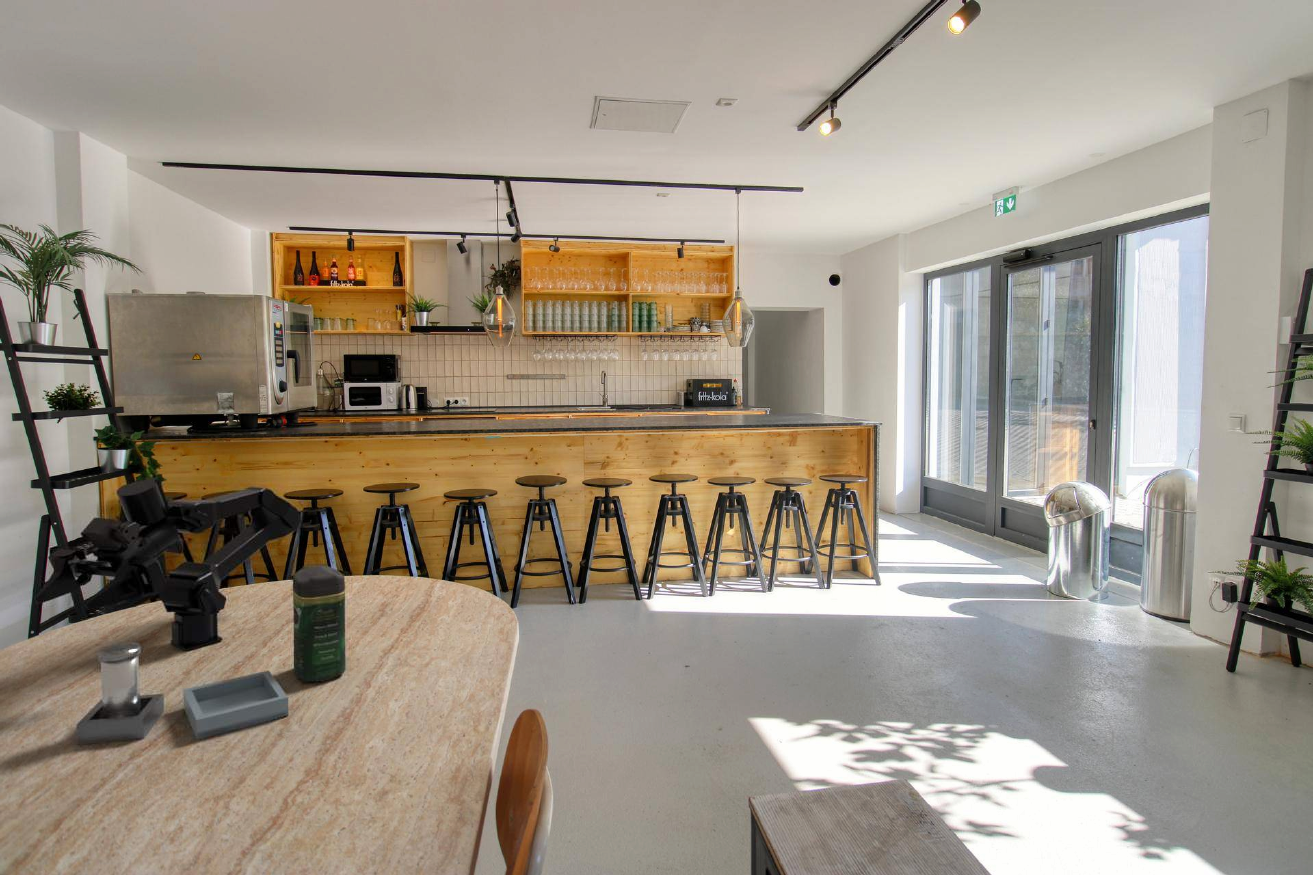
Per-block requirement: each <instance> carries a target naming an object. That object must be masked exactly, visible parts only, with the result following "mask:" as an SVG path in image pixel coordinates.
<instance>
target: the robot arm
mask: <svg viewBox="0 0 1313 875" xmlns="http://www.w3.org/2000/svg"><path fill="white" fill-rule="evenodd" d="M164 492H165V491H164V489H163V485H162V481H161V479H160V478H159V477H148V478H147V479H145V480H139V481H135V482H132V483H128V484H127V483H126V484H124V485H122V486H120V487H119V488H118V489H117V490H116V495H117V497H118V500H119V502H120V505H121V507H122V509H123V512H124V514H125V518H126V520H127V521H124V522H122V520H116V519H112V518H104V517H93V519H92V520H91V521H90V522H89V523H88V524H87V525H86V527H85V528H84V529H83V530H82V531H81V532H80V536H81V537H82V538H83V539H86V540H87V541H88V542H90V543H91V544H92V545H93V546H94V547H95V548H93V549H91V553H92V554H93V556H94V557H96V559H88V558H87V556H86V554H85V551H81V550H77V549H76V550H75V549H68V548H67V549H66V548H65V549H64V548H59V549H57V550H56V551H54V552H52V553H51V554H50V555H49V556H48V557H47V558H48V560H49V562H50V564H51V567H52V569H53V571H52V573H51V575H50V577H49V578H48V580H47V581H46V582H45V584H44V586H42V588H41V589H40V590H39V592H38V593H37V595H36V596H35V597H34V601H35V603H36V604H38V605H39V604H43V603H47V602H50V601H52V600H55V599H57V598H60V597H62V596H65V595H68V594H71V593H74V592H76V591H79V590H81V588H80V587H82V586H86V585H87V584H88V583H90V582H91V581H92V578H93V576H103V577H105V579H106V581H109V582H108V583H107V584H105V585H104V586H103V587H102V588H101V589H100V590H98V591H97V592H96V593H95V594H94V595H93V596H91V597H90V598H89V600H87V601H86V602H85V603H84V606H85V608H86V610H93V609H96V608H101V607H105V606H108V605H112V604H117V603H121V602H125V601H130V600H134V599H139V598H147V596H156V595H158V594H159V596H160V600H161V602H162V604H163V606H164V608H165V611H166V613H173V621H171V640H170V644H172V645H174V646H176V647H179V648H180V649H182V650H185V651H191V650H193V649H194V650H195V649H198V648H201V647H205V646H209V645H211V644H215V643H218V642H219V643H220V642H222V641H223V637H222V636H220V635H219V632H218V630H219V629H218V627H219V626H218V614H219V613H220V612H221V611H223V610H224V609H225V606H226V603H227V602H226V601H227V597H226V596H225V595H224V594H223V593H221V592H220V587H221V581H222V580H224V579H225V578H226V577H227V576H229V575H230V574H231V573H232V572H233V571H235V570H236V569H237V568H238V567H239V566H241V565H242V564H243V563H245V561H247V560H248V559H250V558H251V557H252V556H253V555H254V554H256V552H258V551H259V550H260V549H262V548H263V547H264V546H265V545H266V544H267V543H269V542H271V541H274V540H278V539H281V538H284V537H287V536H289V535H290V534H292V533H294V532H295V531H296V530H297V529H298V528H299V526H300V524H301V521H302V520H301V519H302V517H301V513H300V512H299V509H297V507H296V506H294V505H292V504H291V503H290V502H289V501H287V500H285V499H284V498H281V497H280V496H278V495H276V493H275V492H274V491H273V490H272V489H270V488H268V487H260V486H259V487H257V486H249V487H246V488H245V489H242V490H238V491H234V492H230V493H225V494H223V495H219V496H215V497H211V498H207V499H181V500H180V499H179V500H176V499H175V500H170V501H168V500H167V497H166V495H165V493H164ZM245 512H247V513H248V516H249V517H250V518H251V519H250V525H249V526H247V528H245V529H243V531H241V532H240V533H239V534H238V535H236V536H234V537H233V538H232V539H231V540H230V541H228V542H227V543H225V544H224V545H223V546H222V547H221V548H220V549H218V550H217V551H215V552H214V553H213V554H211V555H210V556H208V557H207V558H206V559H205V560H203V561H202V562H193V561H191V562H190V561H183V562H182V563H180V564H179V565H178V566H177V567H176V568H175V569H174V570H172V571H170V572H167V573H166V575H167V576H166V577H165V575H164V572H163V569H162V567H161V565H160V561H159V560H158V557H160V556H161V555H163V554H164V553H170V554H180V555H181V554H182V553H183V552H184V541H185V540H184V538H181V536H180V534H179V533H183V534H193V535H194V534H195V535H196V534H197V535H198V534H202V533H204V532H205V531H207V530H209V529H211V528H213V527H214V526H215V525H216V523H218V521H220V520H222V519H225V518H228V517H232V516H235V515H239V514H243V513H245Z"/></svg>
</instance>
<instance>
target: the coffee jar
mask: <svg viewBox="0 0 1313 875" xmlns="http://www.w3.org/2000/svg"><path fill="white" fill-rule="evenodd" d="M292 604H293V606H292V607H293V610H292V611H293V670H294V673H295V675H296V676H297V677H298V679H300V681H302V682H318V681H321V682H324V681H323V680H327V681H329V680H328V679H330V680H332V679H334V678H337V677H338V675H339V676H341V675H343V674H344V672H345V671H346V665H347V664H346V663H347V661H346V658H347V657H346V582H345V576H344V575H343V573H342V572H340V571H339V570H338V569H336V568H333V567H331V566H328V565H327V564H317V565H308V566H302V567H301V569H299V570H298V571H296V572H295V573H294V575H293V578H292ZM342 673H343V674H342ZM331 678H332V679H331Z"/></svg>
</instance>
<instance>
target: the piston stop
mask: <svg viewBox="0 0 1313 875" xmlns="http://www.w3.org/2000/svg"><path fill="white" fill-rule="evenodd" d="M141 646H142V645H141V644H140V643H137V642H133V641H132V642H128V641H127V642H120V643H115V644H111V645H108V646H104V647H102V648H101V649H99V650H98V651H97V661H98V662H100V668H101V669H100V674H101V676H100V677H101V694H102V695H101V696H102V698H101V699H103V719H109V718H120V717H132V716H138V715H139V714H140V713H141V706H140V696H141V687H140V684H141V683H140V663H139V660H140V659H139V655H141V653H142V652H141V650H142V649H141Z"/></svg>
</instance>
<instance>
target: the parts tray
mask: <svg viewBox="0 0 1313 875" xmlns="http://www.w3.org/2000/svg"><path fill="white" fill-rule="evenodd" d="M182 690H183V692H182V693H183V698H182V699H183V709H184V711H185V714H186V716H187V719H188V722H189V725H190V727H191V729H192V731H193V734H194V737H195V739H196V740H197V741H199V740H203V739H206V738H210V737H213V736H218V735H222V734H225V733H229V732H234V731H237V730H241V729H244V728H248V727H252V726H253V727H254V726H256V725H259V724H258V723H260V724H264V723H266V721H268V722H270V720H272V721H274V720H273V719H275V720H278V719H277V718H279V719H282V718H281V717H283V718H285V717H284V716H287V717H289V696H288V695H287V694H286V692H285V691H284V690H283V688H282V687H281V685H280V684H279V683H278V681H277V680H276V679H275V677H274V676H273V675H272V672H271V671H270V670H265V671H260V672H256V673H251V674H247V675H246V674H245V675H242V676H239V677H234V678H229V679H225V680H220V681H216V682H211V683H207V684H203V685H197V686H194V687H190V688H184V689H182Z"/></svg>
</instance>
